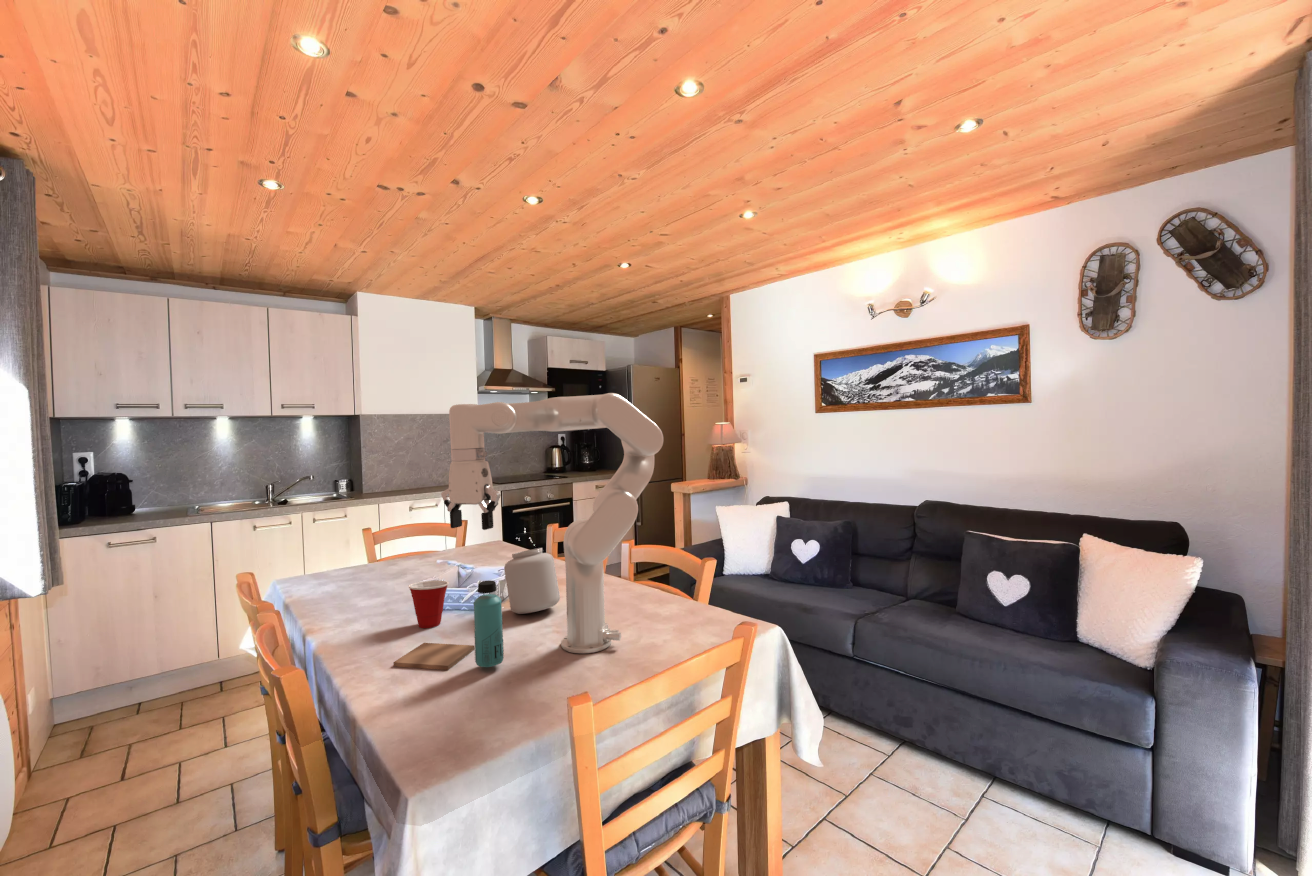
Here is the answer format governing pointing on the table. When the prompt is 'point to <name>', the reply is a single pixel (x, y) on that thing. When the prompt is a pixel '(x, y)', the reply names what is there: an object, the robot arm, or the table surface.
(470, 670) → the table surface
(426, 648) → the walnut board
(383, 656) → the table surface
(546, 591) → the jar
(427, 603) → the plastic cup
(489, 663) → the beverage bottle
